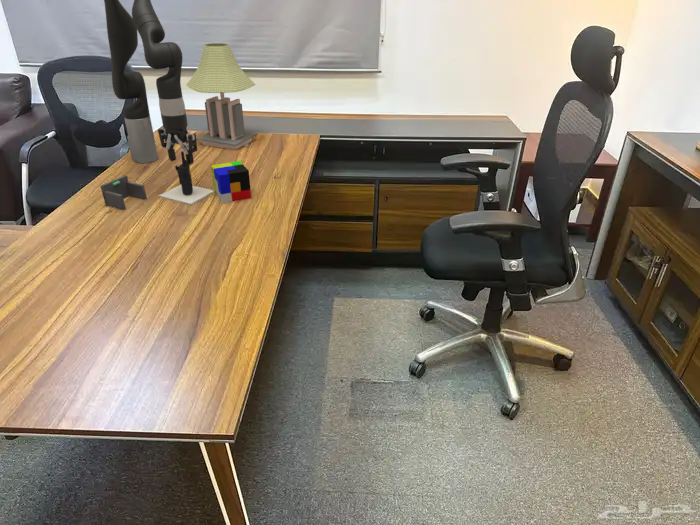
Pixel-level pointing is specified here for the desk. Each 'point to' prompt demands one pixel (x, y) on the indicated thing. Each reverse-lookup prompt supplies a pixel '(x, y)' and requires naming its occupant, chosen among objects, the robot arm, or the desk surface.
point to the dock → (121, 192)
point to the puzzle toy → (231, 182)
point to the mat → (190, 199)
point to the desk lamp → (222, 96)
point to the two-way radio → (185, 176)
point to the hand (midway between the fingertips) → (181, 162)
